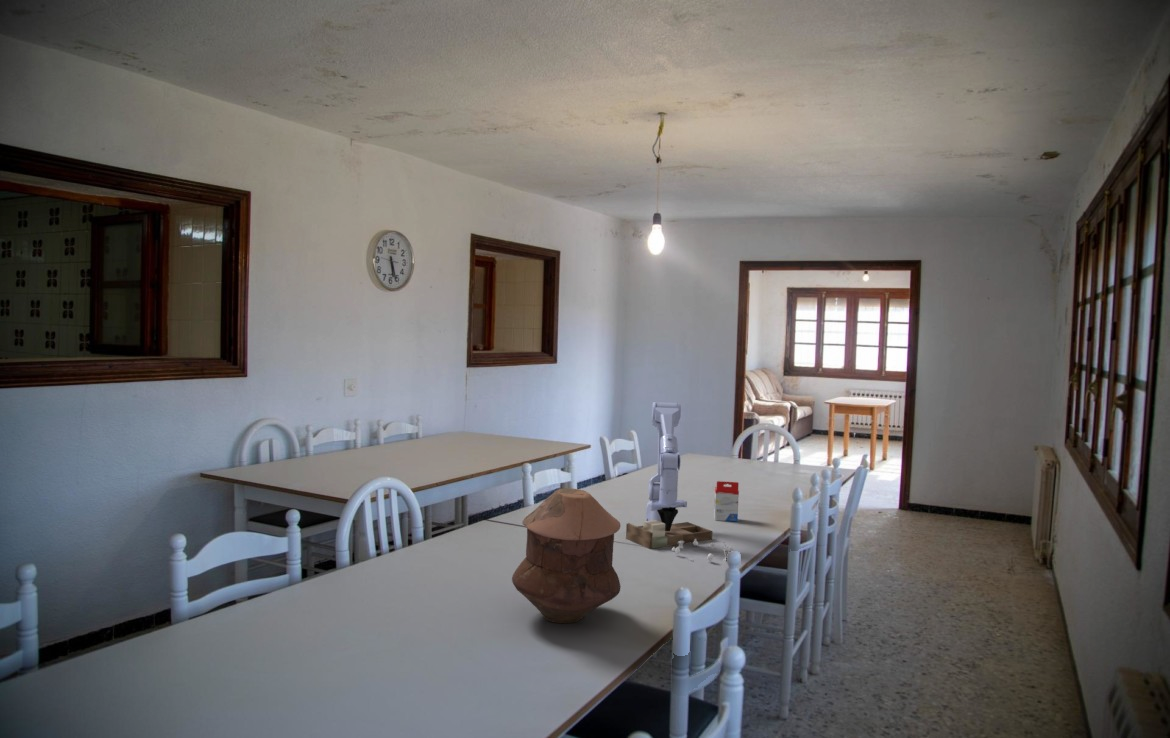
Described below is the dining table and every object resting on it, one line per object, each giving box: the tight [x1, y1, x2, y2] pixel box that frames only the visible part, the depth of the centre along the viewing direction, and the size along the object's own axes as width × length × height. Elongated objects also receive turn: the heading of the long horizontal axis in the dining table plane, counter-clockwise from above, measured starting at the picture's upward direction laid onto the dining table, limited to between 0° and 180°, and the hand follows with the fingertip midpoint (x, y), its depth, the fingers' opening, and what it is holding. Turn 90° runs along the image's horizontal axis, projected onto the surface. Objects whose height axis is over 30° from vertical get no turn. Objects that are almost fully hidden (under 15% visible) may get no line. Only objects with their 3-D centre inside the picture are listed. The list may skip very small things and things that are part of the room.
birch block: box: [642, 520, 665, 538], centre depth 247 cm, size 5×5×4 cm
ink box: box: [713, 480, 740, 523], centre depth 284 cm, size 8×5×15 cm, turn 84°
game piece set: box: [671, 539, 734, 564], centre depth 238 cm, size 19×20×4 cm
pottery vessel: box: [511, 487, 621, 624], centre depth 180 cm, size 26×26×30 cm
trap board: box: [625, 521, 713, 550], centre depth 254 cm, size 15×26×5 cm, turn 122°
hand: (666, 530), depth 250 cm, fingers closed
